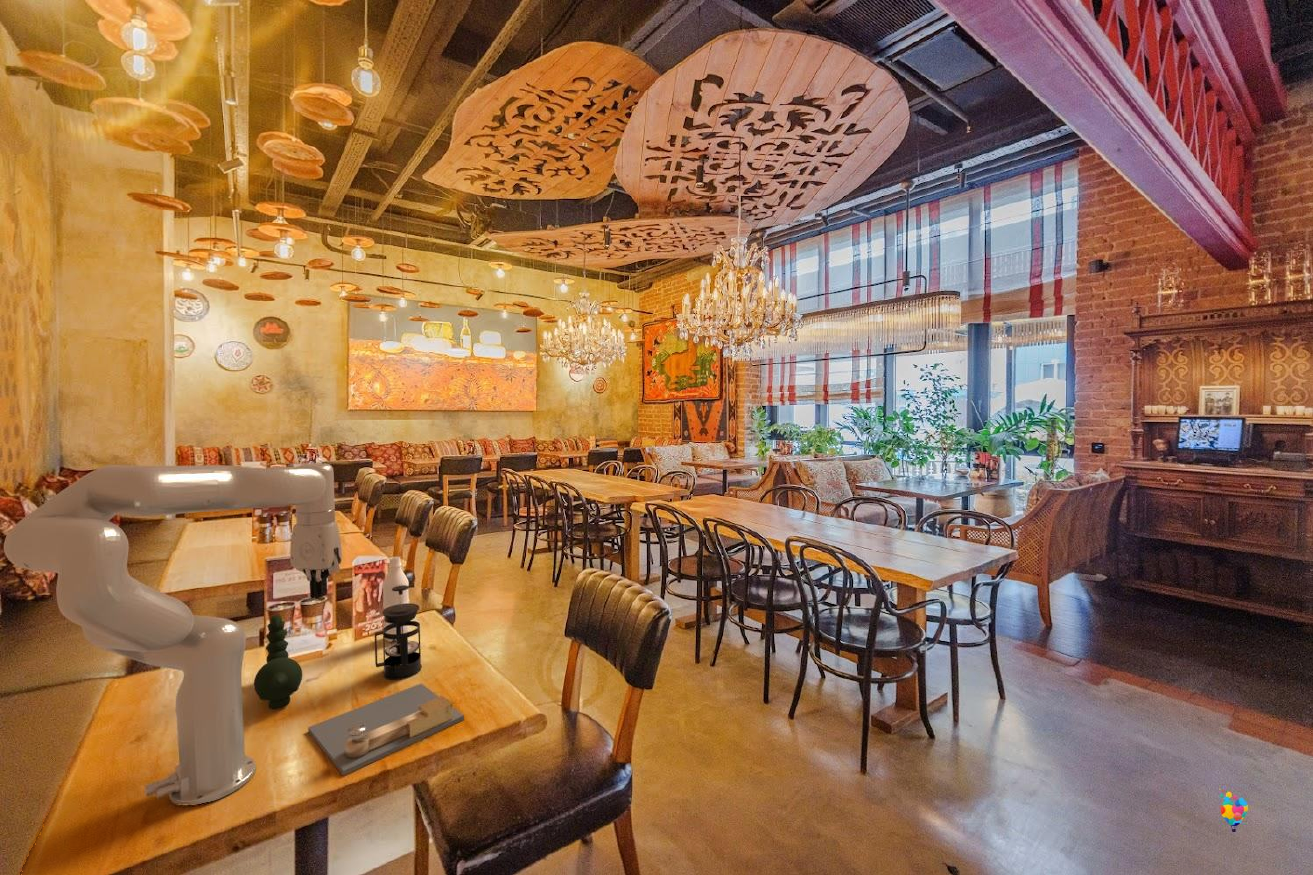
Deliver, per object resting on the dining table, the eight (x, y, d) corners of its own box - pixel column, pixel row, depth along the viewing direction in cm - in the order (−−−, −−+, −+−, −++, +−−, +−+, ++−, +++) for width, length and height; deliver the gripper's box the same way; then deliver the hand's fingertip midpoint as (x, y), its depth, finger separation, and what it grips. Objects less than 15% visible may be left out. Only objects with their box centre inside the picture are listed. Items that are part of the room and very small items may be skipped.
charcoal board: (343, 775, 105) (343, 770, 105) (308, 731, 119) (308, 727, 119) (464, 719, 124) (463, 715, 123) (421, 687, 137) (421, 683, 137)
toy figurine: (256, 687, 140) (254, 726, 120) (253, 614, 140) (250, 640, 120) (300, 677, 145) (305, 712, 125) (297, 606, 146) (301, 629, 125)
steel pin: (351, 746, 108) (351, 735, 108) (345, 739, 110) (345, 729, 110) (368, 739, 110) (368, 728, 110) (362, 732, 113) (362, 722, 112)
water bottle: (399, 645, 161) (397, 562, 159) (378, 642, 162) (376, 560, 161) (415, 634, 168) (413, 555, 166) (394, 632, 169) (392, 553, 168)
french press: (421, 658, 152) (419, 578, 151) (427, 673, 145) (425, 588, 143) (374, 669, 146) (371, 585, 145) (377, 685, 138) (375, 596, 137)
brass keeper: (410, 738, 115) (409, 721, 115) (400, 730, 118) (400, 713, 118) (452, 719, 122) (452, 702, 122) (442, 711, 125) (442, 695, 125)
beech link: (349, 761, 107) (349, 750, 107) (342, 751, 110) (341, 740, 110) (439, 722, 121) (439, 712, 120) (430, 714, 124) (430, 704, 123)
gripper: (273, 519, 122) (277, 599, 123) (331, 523, 119) (334, 605, 120) (301, 513, 129) (304, 588, 131) (356, 516, 126) (359, 593, 128)
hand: (318, 596), depth 125 cm, fingers closed
